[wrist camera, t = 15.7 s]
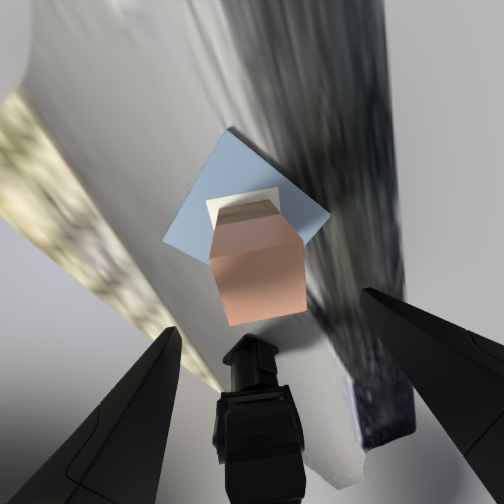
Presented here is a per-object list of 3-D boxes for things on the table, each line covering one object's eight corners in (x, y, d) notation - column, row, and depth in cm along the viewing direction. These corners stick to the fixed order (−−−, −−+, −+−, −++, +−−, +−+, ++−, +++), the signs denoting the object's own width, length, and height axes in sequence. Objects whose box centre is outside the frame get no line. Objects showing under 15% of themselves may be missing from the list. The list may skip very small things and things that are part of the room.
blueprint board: (262, 290, 25) (263, 293, 24) (164, 238, 20) (162, 241, 20) (328, 213, 21) (331, 215, 20) (225, 129, 17) (225, 128, 16)
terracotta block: (286, 269, 17) (306, 310, 12) (229, 280, 17) (229, 326, 12) (281, 213, 15) (303, 240, 10) (215, 226, 14) (208, 259, 10)
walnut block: (274, 244, 21) (286, 269, 17) (229, 253, 21) (229, 280, 17) (269, 199, 19) (281, 213, 15) (218, 208, 19) (215, 226, 14)
